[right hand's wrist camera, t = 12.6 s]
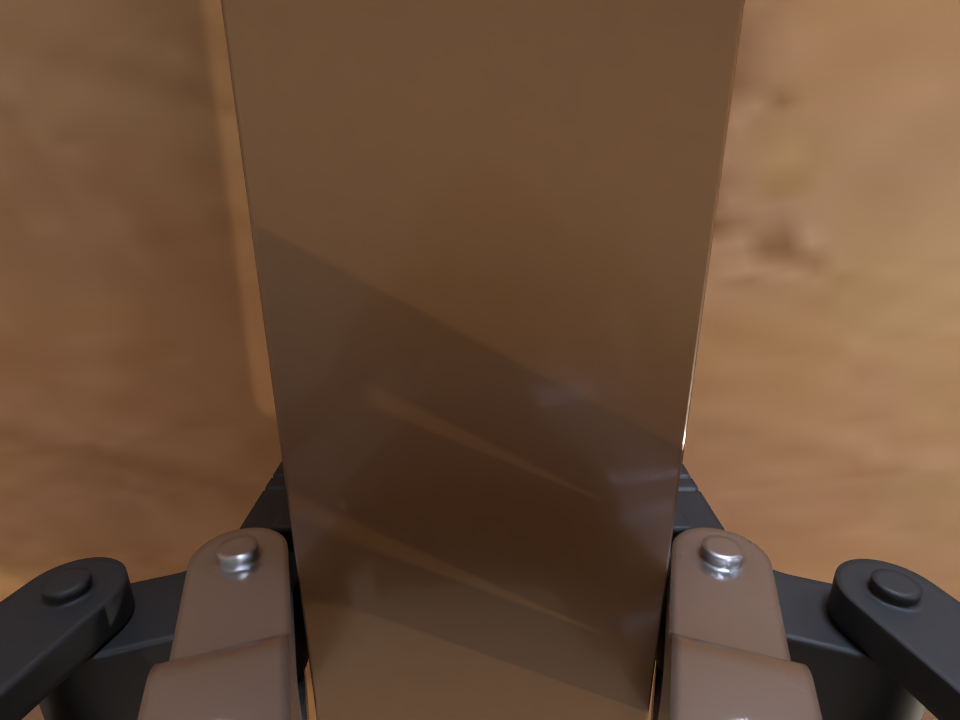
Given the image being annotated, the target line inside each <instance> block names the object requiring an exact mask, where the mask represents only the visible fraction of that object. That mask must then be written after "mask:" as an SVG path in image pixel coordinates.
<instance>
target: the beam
mask: <svg viewBox="0 0 960 720" xmlns="http://www.w3.org/2000/svg"><path fill="white" fill-rule="evenodd" d="M744 3H745V0H221V5H222V12H223V19H224V27H225V34H226V42H227V49H228V57H229V64H230V72H231V79H232V87H233V94H234V102H235V109H236V117H237V124H238V132H239V139H240V147H241V154H242V162H243V169H244V177H245V184H246V192H247V199H248V207H249V214H250V222H251V229H252V237H253V244H254V252H255V259H256V267H257V274H258V281H259V289H260V296H261V304H262V311H263V319H264V326H265V334H266V341H267V349H268V356H269V364H270V371H271V379H272V386H273V394H274V401H275V409H276V416H277V424H278V431H279V439H280V446H281V454H282V461H283V469H284V476H285V484H286V491H287V499H288V506H289V514H290V521H291V529H292V536H293V544H294V551H295V558H296V566H297V573H298V581H299V588H300V596H301V603H302V611H303V618H304V626H305V633H306V641H307V648H308V656H309V663H310V671H311V678H312V686H313V693H314V701H315V708H316V716H317V720H647V719H648V711H649V704H650V697H651V689H652V682H653V675H654V667H655V660H656V652H657V645H658V638H659V630H660V623H661V615H662V608H663V601H664V593H665V586H666V579H667V571H668V564H669V556H670V549H671V542H672V534H673V527H674V519H675V512H676V505H677V497H678V490H679V483H680V475H681V468H682V460H683V453H684V446H685V438H686V431H687V423H688V416H689V409H690V401H691V394H692V387H693V379H694V372H695V364H696V357H697V350H698V342H699V335H700V327H701V320H702V313H703V305H704V298H705V291H706V283H707V276H708V268H709V261H710V254H711V246H712V239H713V231H714V224H715V217H716V209H717V202H718V195H719V187H720V180H721V172H722V165H723V158H724V150H725V143H726V135H727V128H728V121H729V113H730V106H731V99H732V91H733V84H734V76H735V69H736V62H737V54H738V47H739V39H740V32H741V25H742V17H743V10H744Z"/></svg>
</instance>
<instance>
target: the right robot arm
mask: <svg viewBox="0 0 960 720" xmlns="http://www.w3.org/2000/svg"><path fill="white" fill-rule="evenodd" d="M308 659H309V656H308V648H307V641H306V633H305V626H304V618H303V611H302V603H301V596H300V588H299V581H298V573H297V566H296V558H295V551H294V544H293V536H292V529H291V521H290V514H289V506H288V499H287V491H286V484H285V476H284V469H283V461H282V462H281V463H280V465H279V467H278V468H277V470H276V471H275V473H274V475H273V478H271V479H270V481H269V483H268V484H267V486H266V488H265V491H263V492H262V494H261V496H260V497H259V499H258V500H257V502H256V504H255V505H254V507H253V508H252V510H251V512H250V513H249V515H248V516H247V518H246V520H245V521H244V523H243V524H242V526H241V528H240V529H239V530H235V531H231V532H228V533H225V534H223V535H220V536H218V537H216V538H214V539H212V540H210V541H209V542H207V543H206V544H204V545H203V546H202V547H201V548H199V549H198V550H197V551H196V553H195V554H194V555H193V556H192V558H191V559H190V561H189V564H188V567H187V571H184V572H181V573H177V574H173V575H168V576H164V577H159V578H154V579H150V580H145V581H140V582H136V583H131V584H130V581H129V577H128V573H127V570H126V567H125V566H124V565H123V564H122V563H121V562H119V561H118V560H115V559H112V558H105V557H95V558H86V559H81V560H76V561H73V562H69V563H66V564H63V565H60V566H58V567H55V568H53V569H51V570H49V571H47V572H45V573H43V574H41V575H39V576H38V577H36V578H34V579H33V580H31V581H30V582H28V583H27V584H26V585H24V586H23V587H21V588H20V589H18V590H17V591H16V592H14V593H13V594H11V595H10V596H9V597H7V598H6V599H4V600H3V601H1V602H0V720H21V719H22V718H24V717H25V716H26V715H27V714H28V713H29V712H30V711H31V710H32V709H33V708H34V707H36V706H37V705H38V704H39V705H40V708H41V711H42V714H43V717H44V719H45V720H309V711H308V696H307V682H306V675H305V667H306V665H307V662H308ZM926 708H927V709H928V710H929V711H930V712H931V713H932V714H933V715H934V716H935V717H936V718H938V719H939V720H960V602H959V601H957V600H956V599H954V598H953V597H951V596H950V595H949V594H947V593H946V592H944V591H943V590H942V589H940V588H939V587H937V586H936V585H934V584H933V583H931V582H930V581H928V580H927V579H925V578H924V577H922V576H920V575H918V574H916V573H914V572H912V571H910V570H908V569H905V568H903V567H900V566H897V565H894V564H891V563H887V562H883V561H878V560H871V559H855V560H849V561H846V562H844V563H842V564H841V565H840V566H839V567H838V568H837V570H836V572H835V576H834V580H833V583H832V584H830V583H825V582H820V581H816V580H811V579H806V578H802V577H797V576H792V575H788V574H784V573H781V572H778V571H775V570H773V568H772V564H771V561H770V560H769V558H768V556H767V555H766V554H765V553H764V551H763V550H762V549H760V548H759V547H758V546H757V545H756V544H754V543H753V542H751V541H750V540H748V539H746V538H744V537H742V536H740V535H737V534H735V533H732V532H729V531H725V530H724V528H723V527H722V525H721V523H720V522H719V520H718V519H717V517H716V516H715V514H714V512H713V511H712V509H711V508H710V506H709V505H708V503H707V501H706V500H705V498H704V497H703V495H702V494H701V492H698V487H697V486H696V484H695V482H694V481H693V479H690V475H689V473H688V471H687V470H686V468H685V467H684V465H683V464H682V468H681V475H680V483H679V490H678V497H677V505H676V512H675V519H674V527H673V534H672V542H671V549H670V556H669V564H668V571H667V579H666V586H665V593H664V601H663V608H662V615H661V623H660V630H659V638H658V645H657V652H656V667H655V674H654V681H653V695H652V710H651V720H922V717H923V714H924V712H925V709H926Z"/></svg>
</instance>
